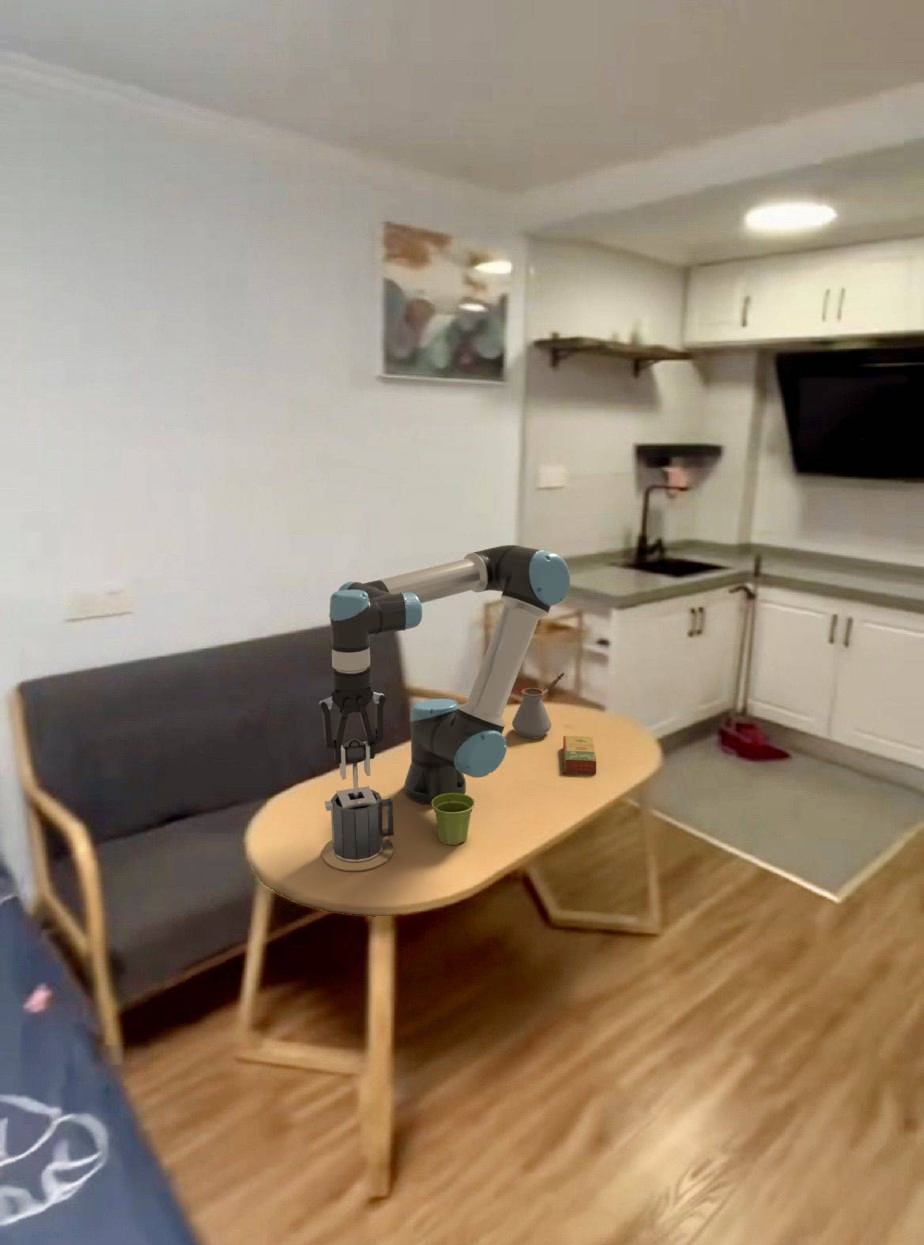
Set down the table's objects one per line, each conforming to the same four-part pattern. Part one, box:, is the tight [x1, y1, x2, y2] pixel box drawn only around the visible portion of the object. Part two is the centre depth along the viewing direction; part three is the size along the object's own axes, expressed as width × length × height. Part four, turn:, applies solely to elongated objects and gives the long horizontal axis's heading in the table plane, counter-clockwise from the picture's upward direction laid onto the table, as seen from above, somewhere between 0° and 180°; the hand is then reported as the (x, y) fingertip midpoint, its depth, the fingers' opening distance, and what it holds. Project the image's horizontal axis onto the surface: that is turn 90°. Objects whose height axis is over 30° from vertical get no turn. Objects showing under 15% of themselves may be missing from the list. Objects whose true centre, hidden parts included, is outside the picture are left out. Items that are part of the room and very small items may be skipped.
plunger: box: [342, 738, 365, 809], centre depth 165 cm, size 7×7×21 cm
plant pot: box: [430, 793, 475, 846], centre depth 173 cm, size 9×9×9 cm
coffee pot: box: [511, 672, 568, 739], centre depth 233 cm, size 21×12×15 cm, turn 136°
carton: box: [562, 735, 597, 775], centre depth 213 cm, size 8×16×4 cm, turn 175°
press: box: [321, 785, 395, 873], centre depth 167 cm, size 15×15×13 cm
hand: (355, 774), depth 164 cm, fingers closed on plunger, 4 cm apart
